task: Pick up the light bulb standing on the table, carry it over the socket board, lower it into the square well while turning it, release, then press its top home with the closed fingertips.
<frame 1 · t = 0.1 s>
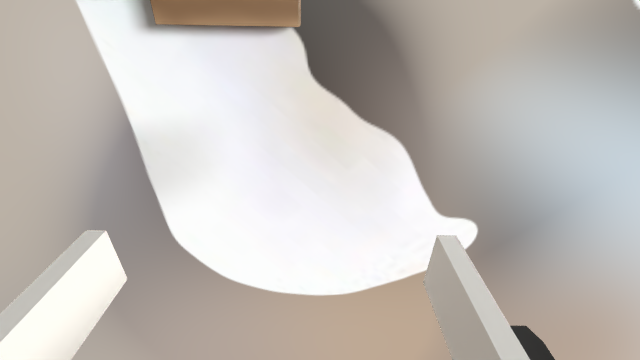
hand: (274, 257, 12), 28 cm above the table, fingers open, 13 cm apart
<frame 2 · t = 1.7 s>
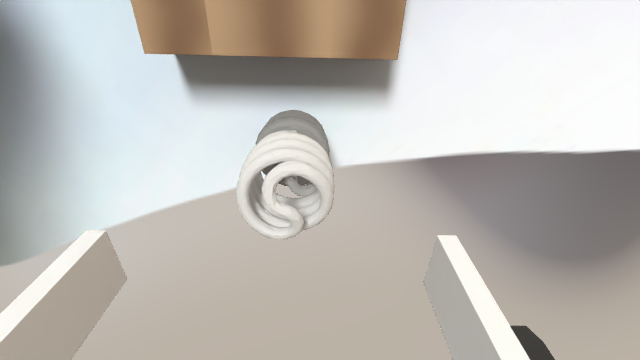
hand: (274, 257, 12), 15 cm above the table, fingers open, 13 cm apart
light bulb: (296, 128, 26), on the table
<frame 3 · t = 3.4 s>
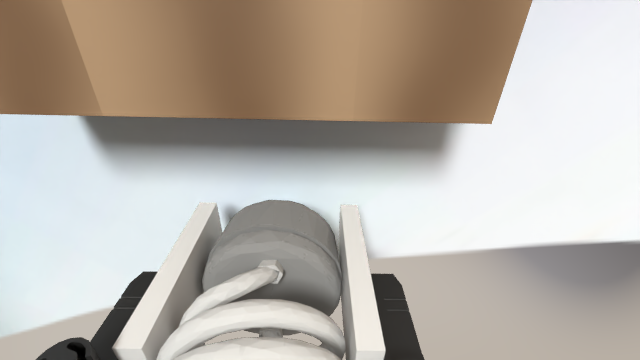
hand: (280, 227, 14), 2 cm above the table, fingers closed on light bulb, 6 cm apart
light bulb: (287, 208, 16), on the table, touching gripper
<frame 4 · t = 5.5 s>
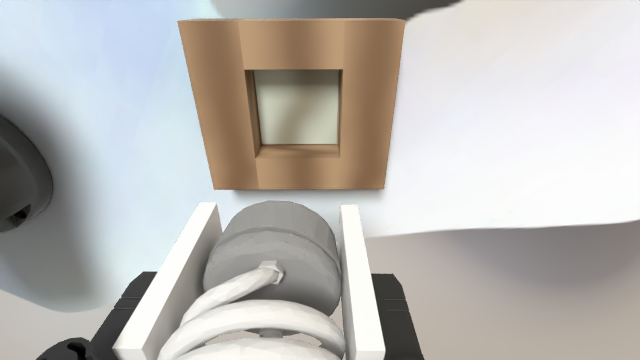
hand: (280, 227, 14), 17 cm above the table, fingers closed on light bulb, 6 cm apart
light bulb: (287, 209, 16), point 15 cm above the table, touching gripper
socket board: (298, 103, 28), on the table
when the fingers open (5 cm above the table, at t = 7.6 s): light bulb drops 2 cm, resting on socket board.
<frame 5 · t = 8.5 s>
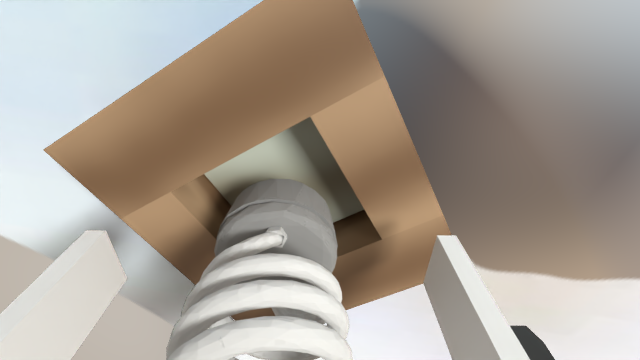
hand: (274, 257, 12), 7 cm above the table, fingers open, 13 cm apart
light bulb: (286, 190, 17), point 1 cm above the table, touching socket board
socket board: (288, 176, 18), on the table
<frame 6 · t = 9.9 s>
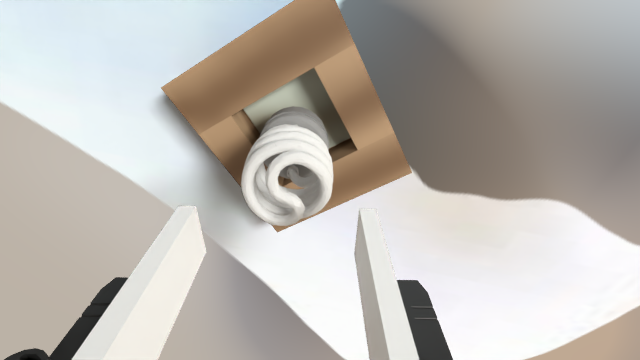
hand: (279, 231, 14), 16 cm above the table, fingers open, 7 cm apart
light bulb: (297, 124, 27), point 1 cm above the table, touching socket board
socket board: (299, 117, 27), on the table
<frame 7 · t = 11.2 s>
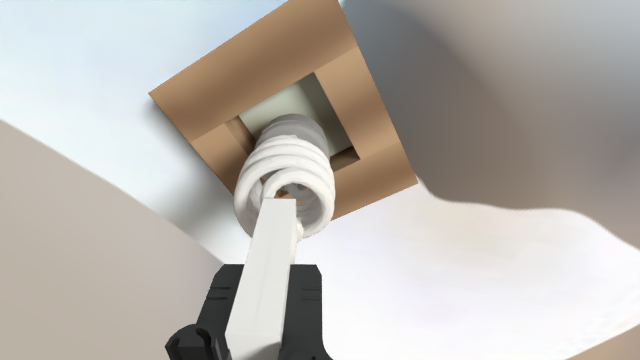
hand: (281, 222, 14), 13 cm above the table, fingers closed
light bulb: (296, 131, 25), point 1 cm above the table, touching gripper, socket board
socket board: (297, 123, 26), on the table
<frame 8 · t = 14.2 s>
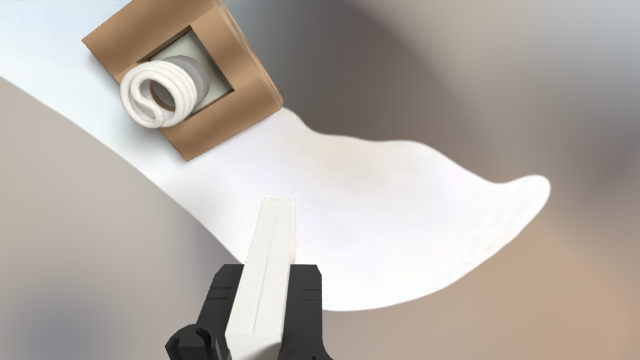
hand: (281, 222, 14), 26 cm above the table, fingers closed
light bulb: (196, 74, 35), point 1 cm above the table, touching socket board
socket board: (199, 70, 36), on the table
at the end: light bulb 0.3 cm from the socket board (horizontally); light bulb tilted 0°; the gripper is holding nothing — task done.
